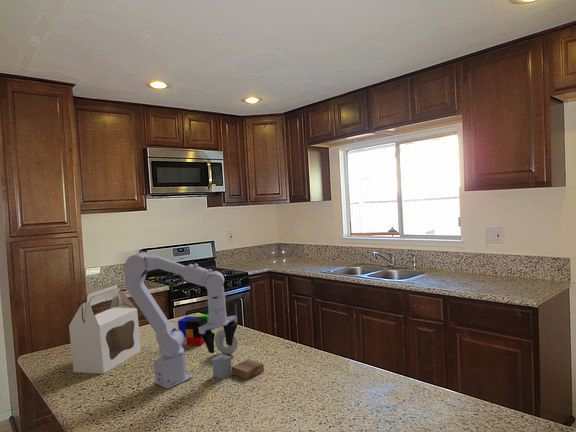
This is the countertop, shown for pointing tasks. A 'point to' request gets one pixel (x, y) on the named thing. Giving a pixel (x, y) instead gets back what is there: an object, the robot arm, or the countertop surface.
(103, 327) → the gable box
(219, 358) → the grey block
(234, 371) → the walnut block
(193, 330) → the puzzle toy
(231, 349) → the donut
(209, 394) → the countertop surface
